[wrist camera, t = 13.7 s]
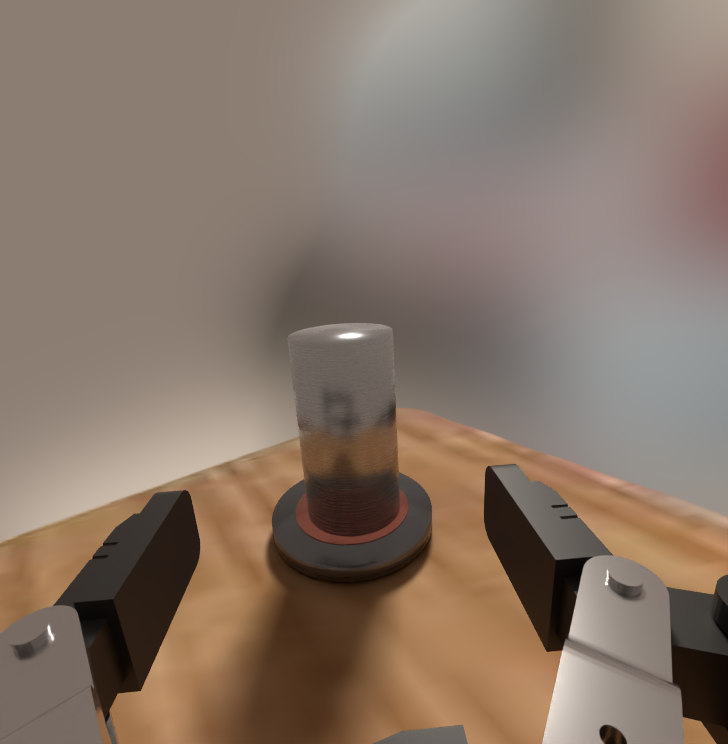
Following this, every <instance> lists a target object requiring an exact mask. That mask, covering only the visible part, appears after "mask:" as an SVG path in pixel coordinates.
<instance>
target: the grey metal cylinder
mask: <svg viewBox="0 0 728 744" xmlns="http://www.w3.org/2000/svg"><path fill="white" fill-rule="evenodd" d="M288 345H289V354H290V362H291V371H292V379H293V387H294V395H295V404H296V413H297V421H298V430H299V438H300V447H301V455H302V464H303V472H304V480H305V489H306V497H307V506H308V514H309V518H310V520H311V522H312V523H313V524H314V525H315V526H316V527H317V528H319V529H320V530H322V531H324V532H326V533H329V534H332V535H336V536H346V537H353V536H362V535H367V534H371V533H374V532H376V531H379V530H381V529H383V528H384V527H386V526H388V525H389V524H390V523H391V522H392V521H393V520H394V519H395V518H396V517H397V515H398V513H399V510H400V491H399V467H398V444H397V420H396V397H395V375H394V374H395V373H394V349H393V330H392V329H391V328H390V327H388V326H384V325H380V324H370V323H369V324H368V323H345V324H333V325H324V326H317V327H312V328H307V329H304V330H300V331H297V332H294V333H292V334H290V335H289V336H288Z"/></svg>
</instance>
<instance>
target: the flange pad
mask: <svg viewBox="0 0 728 744" xmlns="http://www.w3.org/2000/svg"><path fill="white" fill-rule="evenodd" d="M399 491H400V510H399V513H398V515H397V517H396V518H395V519H394V520H393V521H392V522H391V523H390V524H389V525H388V526H386V527H384V528H383V529H381V530H379V531H376V532H374V533H371V534H367V535H362V536H353V537H346V536H336V535H332V534H329V533H326V532H324V531H322V530H320V529H319V528H317V527H316V526H315V525H314V524H313V523H312V522H311V520H310V518H309V514H308V506H307V497H306V489H305V480H302V481H300V482H299V483H297V484H296V485H294V486H293V487H291V488H290V489H289V490H288V491H287V492H286V493H285V494H284V495H283V496H282V497H281V498H280V500H279V501H278V503H277V505H276V506H275V509H274V512H273V516H272V526H273V533H274V540H275V544H276V548H277V550H278V552H279V554H280V555H281V557H282V558H283V559H284V560H285V561H286V562H287V563H288V564H289V565H290V566H291V567H293V568H294V569H296V570H297V571H299V572H301V573H303V574H305V575H308V576H310V577H314V578H317V579H321V580H326V581H333V582H357V581H365V580H370V579H374V578H378V577H382V576H384V575H387V574H390V573H392V572H394V571H396V570H398V569H400V568H402V567H404V566H405V565H407V564H408V563H410V562H411V561H412V560H413V559H415V558H416V557H417V556H418V555H419V554H420V553H421V551H422V550H423V549H424V548H425V546H426V544H427V543H428V540H429V538H430V535H431V530H432V506H431V502H430V499H429V496H428V494H427V493H426V491H425V490H424V489H423V488H422V487H421V486H420V485H419V484H418V483H417V482H416V481H414V480H413V479H411V478H409V477H408V476H406V475H404V474H401V473H399Z"/></svg>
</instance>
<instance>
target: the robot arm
mask: <svg viewBox="0 0 728 744" xmlns="http://www.w3.org/2000/svg"><path fill="white" fill-rule="evenodd" d="M484 523H485V528H486V532H487V536H488V538H489V540H490V542H491V544H492V546H493V548H494V550H495V552H496V554H497V556H498V558H499V560H500V562H501V564H502V566H503V568H504V570H505V571H506V573H507V575H508V577H509V579H510V581H511V583H512V585H513V587H514V589H515V591H516V593H517V595H518V597H519V599H520V601H521V603H522V605H523V606H524V608H525V610H526V612H527V614H528V616H529V618H530V620H531V622H532V624H533V626H534V628H535V630H536V632H537V634H538V636H539V638H540V640H541V641H542V643H543V645H544V647H545V649H546V651H547V652H551V651H561V650H563V651H562V656H561V661H560V665H559V670H558V674H557V679H556V683H555V688H554V692H553V697H552V701H551V706H550V711H549V715H548V720H547V724H546V729H545V733H544V738H543V742H542V744H684V732H683V717H685V718H690V719H694V720H698V721H701V722H702V723H703V725H704V726H705V728H706V729H707V730H708V732H709V733H710V735H711V736H712V737H713V739H714V740H715V742H716V743H717V744H728V575H725V576H723V577H721V578H719V580H718V581H717V584H716V589H715V593H714V595H712V594H706V593H700V592H693V591H687V590H681V589H674V588H669V587H666V586H665V585H664V583H663V582H662V581H661V579H660V578H659V577H658V576H657V575H655V574H654V573H653V572H652V571H650V570H649V569H647V568H646V567H644V566H642V565H640V564H638V563H636V562H634V561H631V560H629V559H626V558H622V557H618V556H613V555H612V553H611V552H610V551H609V550H608V549H607V548H606V547H605V546H604V544H603V543H602V542H601V541H600V540H599V539H598V538H597V537H596V536H595V534H594V533H593V532H592V531H591V530H590V529H589V528H588V527H587V525H586V524H585V523H584V522H583V521H582V520H581V519H580V518H578V517H577V514H576V513H575V512H574V511H573V510H572V509H571V507H568V504H567V503H566V502H565V501H564V500H563V498H562V497H561V496H560V495H559V494H558V493H557V492H556V491H555V490H553V489H551V488H550V487H548V486H546V485H545V484H543V483H541V482H540V481H530V480H529V479H528V477H527V476H526V475H525V474H524V473H523V471H522V470H521V469H520V468H519V466H518V465H516V464H508V465H496V466H488V467H487V468H486V472H485V496H484ZM199 555H200V538H199V533H198V529H197V524H196V519H195V514H194V509H193V505H192V500H191V496H190V494H189V492H188V491H186V490H183V491H171V492H158V493H156V494H154V495H153V497H152V498H151V499H150V501H149V502H148V503H147V505H146V506H145V507H144V509H143V510H142V511H141V513H139V514H133V515H132V516H131V517H129V518H128V519H127V520H125V521H124V522H123V523H121V524H120V525H118V526H117V527H116V528H115V529H114V530H113V531H112V533H111V534H110V535H109V536H108V538H107V539H106V540H105V541H104V543H103V546H100V548H99V549H98V550H97V551H96V553H95V554H94V555H93V559H92V560H89V562H88V563H87V564H86V565H85V567H84V568H83V569H82V570H81V572H80V573H79V574H78V575H77V577H76V578H75V579H74V580H73V582H72V583H71V584H70V585H69V587H68V588H67V589H66V590H65V592H64V593H63V594H62V595H61V597H60V598H59V599H58V600H57V602H56V603H55V604H54V605H53V606H51V607H47V608H44V609H41V610H38V611H36V612H33V613H31V614H29V615H27V616H25V617H23V618H21V619H20V620H18V621H16V622H15V623H13V624H12V625H11V626H9V627H8V628H6V629H5V630H4V631H3V632H2V633H0V744H119V742H118V738H117V734H116V730H115V726H114V722H113V718H112V715H111V712H110V708H111V706H112V704H113V702H114V700H115V698H116V696H117V694H118V693H125V692H135V691H141V689H142V687H143V685H144V682H145V680H146V678H147V676H148V673H149V671H150V669H151V667H152V664H153V662H154V660H155V658H156V655H157V653H158V651H159V649H160V646H161V644H162V642H163V640H164V638H165V635H166V633H167V631H168V629H169V626H170V624H171V622H172V620H173V617H174V615H175V613H176V611H177V608H178V606H179V604H180V602H181V600H182V597H183V595H184V593H185V591H186V588H187V586H188V584H189V582H190V579H191V577H192V575H193V573H194V570H195V568H196V566H197V563H198V560H199ZM373 744H468V743H467V739H466V736H465V732H464V728H463V725H457V726H448V727H439V728H429V729H420V730H411V731H401V732H399V733H397V734H394V735H392V736H390V737H387V738H385V739H383V740H380V741H378V742H376V743H373Z"/></svg>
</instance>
